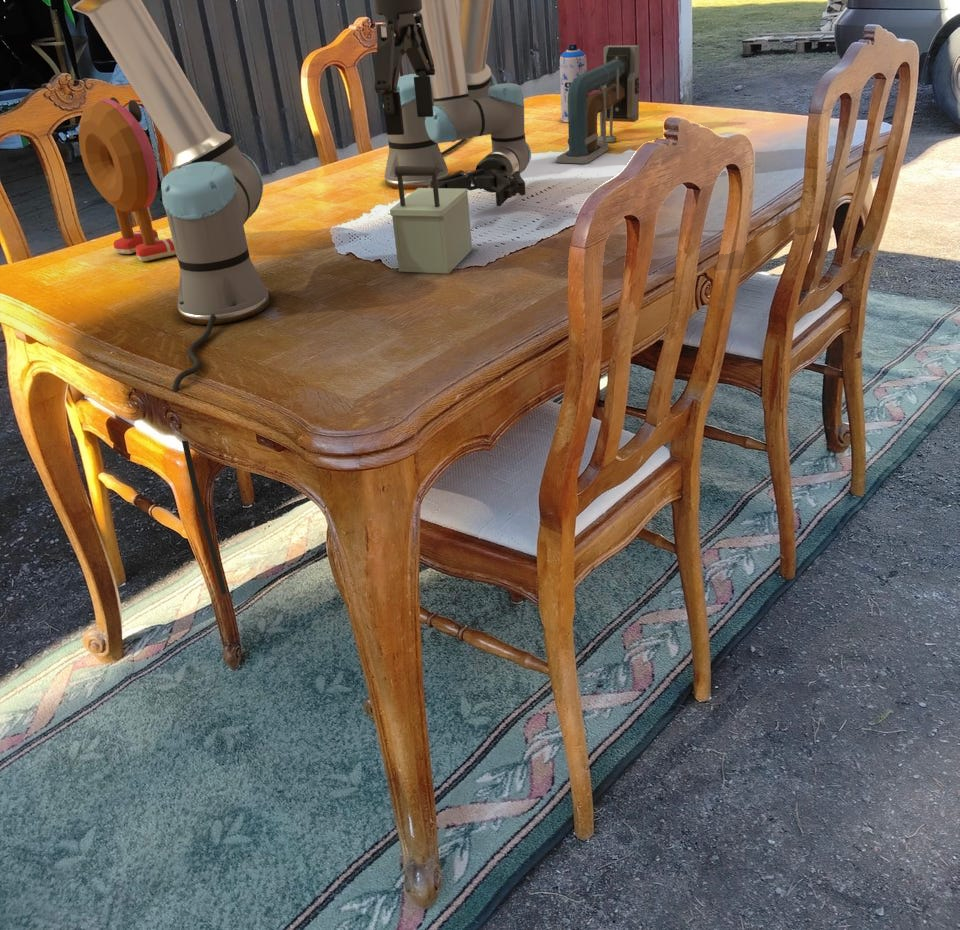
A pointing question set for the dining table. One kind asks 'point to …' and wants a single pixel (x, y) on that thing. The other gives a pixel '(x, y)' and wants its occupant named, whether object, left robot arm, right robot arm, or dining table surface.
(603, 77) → the clamp
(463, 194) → the lid
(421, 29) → the left robot arm
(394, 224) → the chest
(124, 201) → the toy
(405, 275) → the dining table surface
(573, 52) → the aerosol can
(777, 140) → the dining table surface
